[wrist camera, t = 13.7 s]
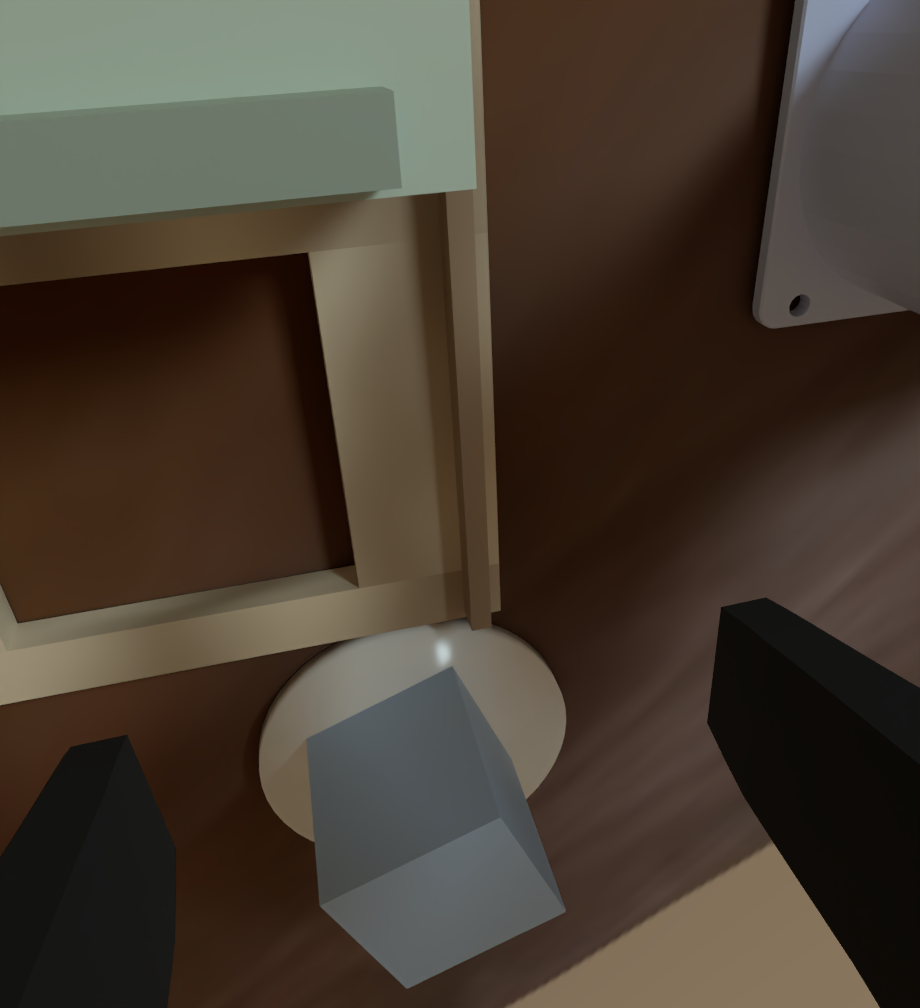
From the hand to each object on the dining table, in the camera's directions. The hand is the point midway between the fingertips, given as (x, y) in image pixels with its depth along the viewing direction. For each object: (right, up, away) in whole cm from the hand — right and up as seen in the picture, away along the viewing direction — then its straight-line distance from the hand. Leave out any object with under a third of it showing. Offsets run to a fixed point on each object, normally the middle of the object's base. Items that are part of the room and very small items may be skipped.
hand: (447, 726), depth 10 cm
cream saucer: (-1, -4, +14) cm, 15 cm away
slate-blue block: (-1, -4, +13) cm, 14 cm away
